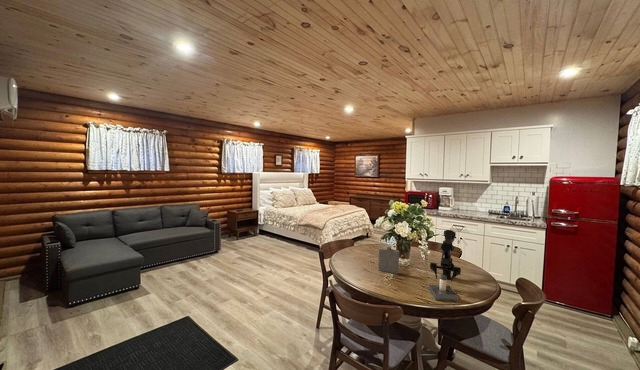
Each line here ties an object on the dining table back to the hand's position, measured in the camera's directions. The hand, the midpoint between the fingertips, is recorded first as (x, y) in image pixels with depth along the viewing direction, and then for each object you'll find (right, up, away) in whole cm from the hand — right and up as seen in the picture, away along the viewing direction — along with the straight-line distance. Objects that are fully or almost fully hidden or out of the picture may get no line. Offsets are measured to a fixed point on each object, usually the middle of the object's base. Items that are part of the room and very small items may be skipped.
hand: (444, 280), depth 176 cm
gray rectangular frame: (-4, -8, -6) cm, 10 cm away
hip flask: (-29, -5, +33) cm, 44 cm away
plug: (-4, -8, -6) cm, 10 cm away
